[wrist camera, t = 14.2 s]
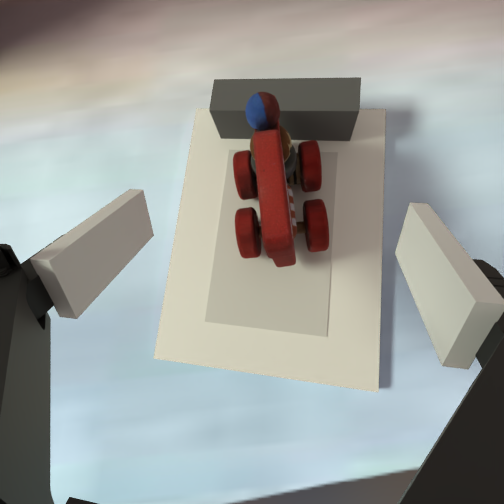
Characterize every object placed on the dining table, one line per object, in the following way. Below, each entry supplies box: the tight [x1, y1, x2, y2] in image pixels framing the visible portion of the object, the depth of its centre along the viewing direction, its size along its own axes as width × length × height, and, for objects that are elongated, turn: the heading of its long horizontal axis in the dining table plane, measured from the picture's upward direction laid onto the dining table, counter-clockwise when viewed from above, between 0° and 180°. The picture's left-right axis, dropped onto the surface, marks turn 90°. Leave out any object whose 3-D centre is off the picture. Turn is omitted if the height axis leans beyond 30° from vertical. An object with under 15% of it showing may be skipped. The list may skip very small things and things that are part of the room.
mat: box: [154, 109, 386, 392], centre depth 26 cm, size 24×18×1 cm
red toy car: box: [233, 92, 329, 267], centre depth 21 cm, size 7×12×10 cm, turn 3°
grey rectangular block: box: [209, 78, 361, 141], centre depth 26 cm, size 3×12×4 cm, turn 84°
